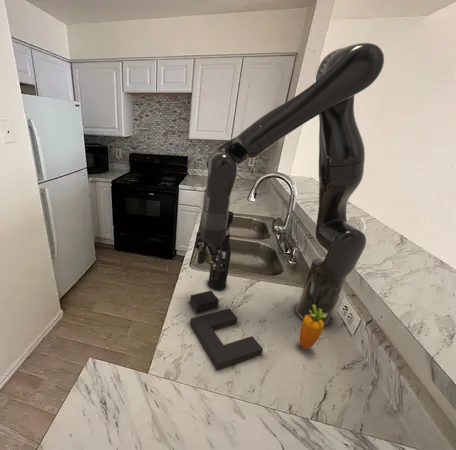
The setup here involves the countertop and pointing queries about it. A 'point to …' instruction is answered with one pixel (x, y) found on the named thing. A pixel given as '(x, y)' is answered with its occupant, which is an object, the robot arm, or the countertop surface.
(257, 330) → the countertop surface
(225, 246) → the wine bottle
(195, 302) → the connector pad
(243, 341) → the base mat
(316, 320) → the carrot
